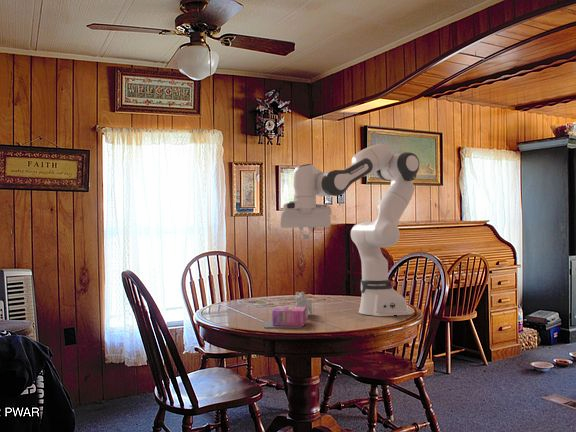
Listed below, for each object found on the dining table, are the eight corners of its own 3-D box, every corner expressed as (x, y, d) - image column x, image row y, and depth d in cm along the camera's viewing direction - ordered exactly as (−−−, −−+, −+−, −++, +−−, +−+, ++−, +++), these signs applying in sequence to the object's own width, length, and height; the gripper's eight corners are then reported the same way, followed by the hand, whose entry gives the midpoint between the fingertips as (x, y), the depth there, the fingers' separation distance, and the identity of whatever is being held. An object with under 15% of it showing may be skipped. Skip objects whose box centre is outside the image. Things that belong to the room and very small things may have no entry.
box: (303, 310, 191) (272, 310, 193) (303, 326, 191) (272, 325, 193) (307, 306, 201) (277, 306, 203) (307, 321, 201) (277, 320, 203)
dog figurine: (292, 319, 209) (292, 292, 209) (301, 313, 221) (300, 288, 221) (305, 319, 207) (304, 292, 207) (313, 314, 219) (312, 288, 219)
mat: (300, 321, 202) (300, 320, 202) (302, 327, 190) (302, 326, 190) (264, 322, 202) (264, 321, 202) (264, 328, 190) (264, 327, 190)
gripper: (329, 204, 210) (330, 238, 210) (279, 205, 209) (280, 239, 209) (331, 203, 204) (332, 238, 204) (280, 204, 203) (281, 239, 203)
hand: (305, 238), depth 206 cm, fingers closed
